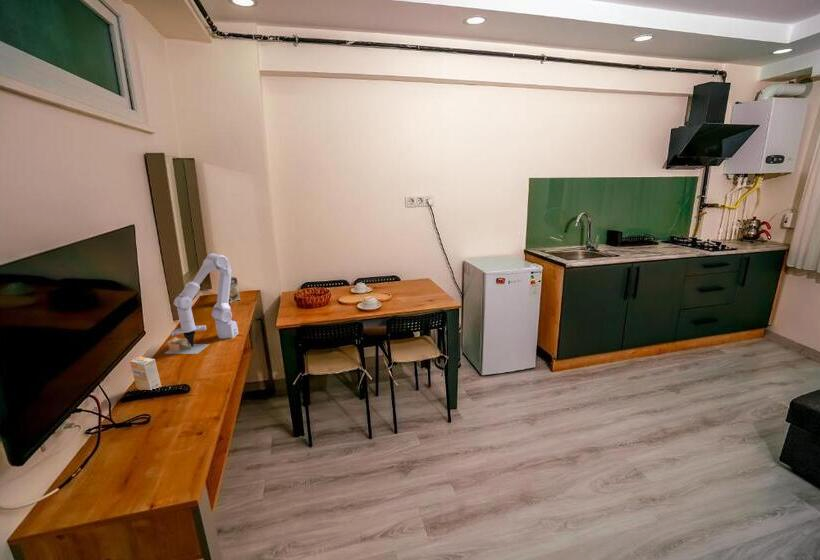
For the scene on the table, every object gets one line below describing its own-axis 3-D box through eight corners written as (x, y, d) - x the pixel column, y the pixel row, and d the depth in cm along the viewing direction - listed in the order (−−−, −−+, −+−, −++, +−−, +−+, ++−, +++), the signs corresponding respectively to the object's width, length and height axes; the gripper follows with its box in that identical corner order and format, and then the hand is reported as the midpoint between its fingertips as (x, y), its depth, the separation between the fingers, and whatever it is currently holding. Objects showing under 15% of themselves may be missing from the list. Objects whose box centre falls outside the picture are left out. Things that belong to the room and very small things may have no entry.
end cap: (187, 344, 187) (185, 336, 186) (179, 350, 181) (177, 342, 180) (177, 344, 187) (175, 336, 186) (168, 350, 182) (166, 342, 180)
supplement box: (136, 390, 150) (128, 361, 147) (148, 383, 155) (140, 355, 151) (151, 393, 148) (143, 364, 144) (162, 387, 152) (155, 358, 148)
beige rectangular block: (192, 345, 186) (190, 338, 185) (188, 348, 183) (187, 341, 182) (177, 345, 186) (175, 338, 185) (173, 348, 184) (171, 341, 182)
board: (210, 345, 187) (210, 344, 187) (198, 355, 178) (197, 353, 178) (178, 345, 189) (178, 343, 188) (164, 354, 179) (164, 353, 179)
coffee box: (228, 304, 244) (224, 281, 240) (222, 303, 248) (218, 280, 243) (240, 300, 252) (236, 277, 247) (234, 299, 255) (230, 276, 250)
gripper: (204, 314, 186) (209, 339, 190) (170, 319, 180) (176, 345, 184) (203, 319, 179) (208, 345, 183) (168, 325, 174) (174, 351, 178)
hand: (192, 345), depth 183 cm, fingers closed
